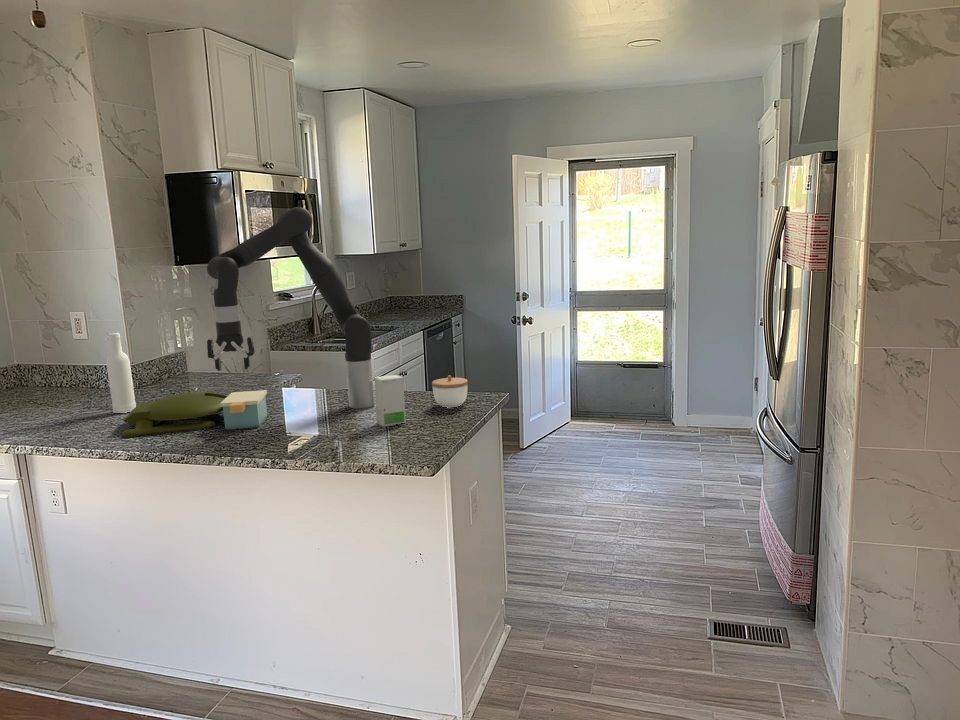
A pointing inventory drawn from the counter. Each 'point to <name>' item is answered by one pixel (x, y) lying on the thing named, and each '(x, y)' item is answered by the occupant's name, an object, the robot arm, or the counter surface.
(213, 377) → the counter surface
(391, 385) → the skincare box
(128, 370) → the bottle
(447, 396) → the lidded bowl
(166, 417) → the spaceship
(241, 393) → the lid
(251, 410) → the tub
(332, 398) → the counter surface
